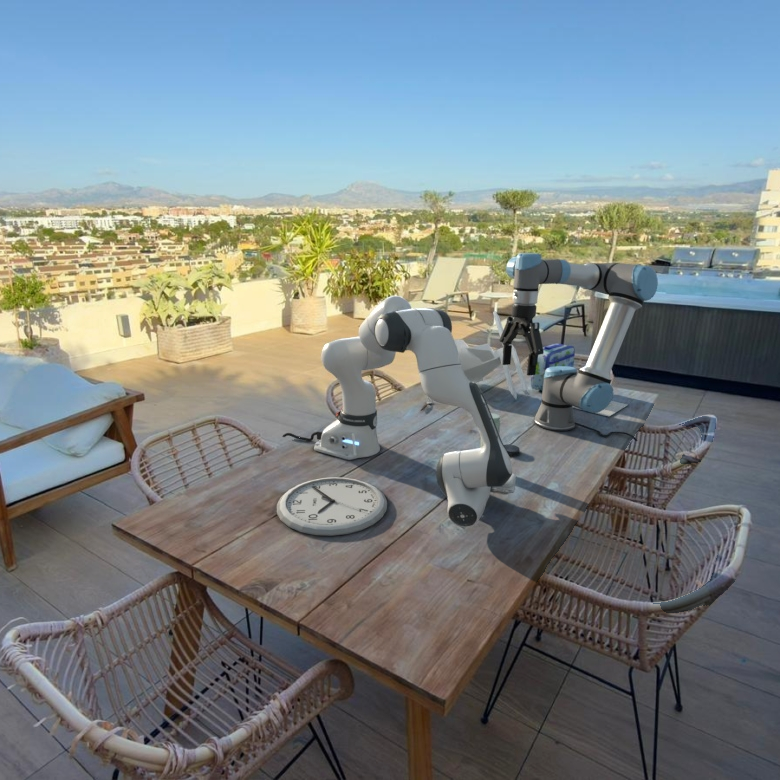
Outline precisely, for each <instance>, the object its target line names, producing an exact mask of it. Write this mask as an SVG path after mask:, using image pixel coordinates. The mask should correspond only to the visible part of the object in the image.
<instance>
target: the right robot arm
mask: <svg viewBox="0 0 780 780" xmlns="http://www.w3.org/2000/svg"><path fill="white" fill-rule="evenodd" d="M506 263H507V264H506V269H505V271H506V274H507V276H508V278H511V279H513V291H512V305H511V312H510V315H508V316H507V317H506V323H505V325H504V327H503V332H502V335H501V337H500V336H499V342H500V343H501V344H502V343H503V345H502V348H503V362H502V363H501V366H502V365H508V366H509V365H511V362H512V359H511V352H512V345H513V342H514V340H515V339H516V337H517V335H518V334H520V335H522V337H524V339H525V342H526V345H527V348H528V350H529V354H528V358H527V369H526V376H531V375H535V374H536V365H537V362H538V355H540V354H543V353H544V351H543V341H542V337H541V332H540V322H539V321H538V322H533V321H534V320H533V319H534V318H535V317H536V315H537V307H538V306H537V305H536V304H538V298H539V297H538V296H539V288H540V285H567V286H575V287H579V288H581V289H583V290H585V291H592V292H596V293H600V294H604V295H608V296H607V298H608V300H609V306H608V308H607V311H606V313H605V316H604V319H603V321H602V324H601V326H600V328H599V331H598V333H597V336H596V338H595V341H594V344H593V346H592V348H591V351H590V354H589V356H588V358H587V361H586V363H585V365H584V366H583V367H580V368H579V369H577V367H574V366H573V367H568V366H555V367H549V368H547V369H546V370H545V375H544V378H543V390H541V391H542V392H541V402H540V405H539V407H538V410H537V411H536V413H535V417H534V424H535V425H536V426H537V427H539V428H542V429H544V430H549V431H556V432H567V431H572V430H574V429H575V428H576V426H579V427H582V428H583V429H584V428H585V429H587V430H591V431H594V432H595V433H597V434H598V435H599V436H600V437H604V438H607V437H609V436H611V435H614V434H615V435H617V434H618V435H626V436H629V437H631V438H632V439H633V440H634V441H635V442H638V439H637V438H636V437H635V436H634V435H632V434H631V433H628V432H624V431H610V432H609V433H608V434H602V433H601V431H599V430H598V429H595V428H593V427H591V426H586V425H584V424H582V423H578V422H576V418H575V417H576V416H575V413H574V407H577V408H579V409H578V410H580V409H581V411H584V412H587V413H592V414H596V413H598V412H600V411H602V410H604V409H605V408H606V407H607V406H608V405H609V404H610V402H611V401H613V398H614V388H613V385H611V383H612V379H613V378H611V375H610V373H611V371H612V369H613V366H614V363H615V362H616V359H617V356H618V354H619V351H620V350H621V349H620V348H621V347H622V344H623V341H624V339H625V336H626V334H627V332H628V329H629V327H630V325H631V322H632V319H633V317H634V315H635V312H636V310H639V309H641V308H643V305H644V303H645V302H647V301H650V300H651V299H652V298H653V297H654V296H655V295H656V293H657V290H658V286H659V279H658V275H657V272H656V270H655V269H654V268H652V266H649V265H643V264H634V263H621V262H620V263H619V262H602V263H601V262H599V263H595V262H587V263H585V264H580V263H572V262H569V261H567V260H566V259H560V258H556V259H555V258H554V259H550V258H542V254H541V253H535V252H520V253H518V254H517V255H516V256H513V257H511V258H510V259H509V260H508V261H507V262H506ZM511 344H512V345H511Z"/></svg>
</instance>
